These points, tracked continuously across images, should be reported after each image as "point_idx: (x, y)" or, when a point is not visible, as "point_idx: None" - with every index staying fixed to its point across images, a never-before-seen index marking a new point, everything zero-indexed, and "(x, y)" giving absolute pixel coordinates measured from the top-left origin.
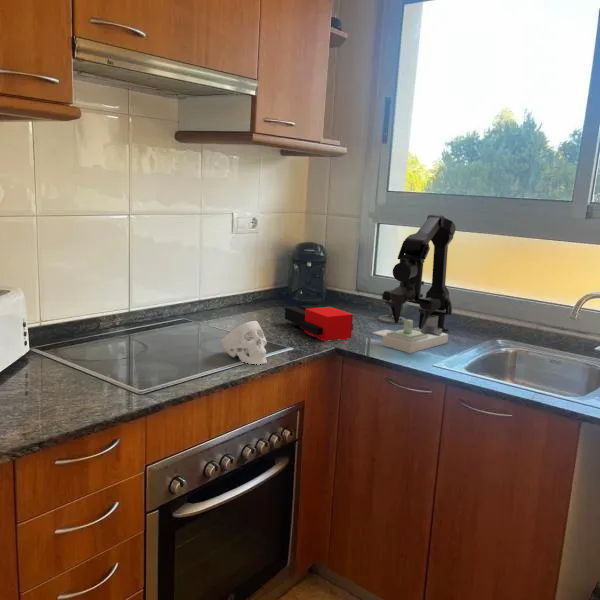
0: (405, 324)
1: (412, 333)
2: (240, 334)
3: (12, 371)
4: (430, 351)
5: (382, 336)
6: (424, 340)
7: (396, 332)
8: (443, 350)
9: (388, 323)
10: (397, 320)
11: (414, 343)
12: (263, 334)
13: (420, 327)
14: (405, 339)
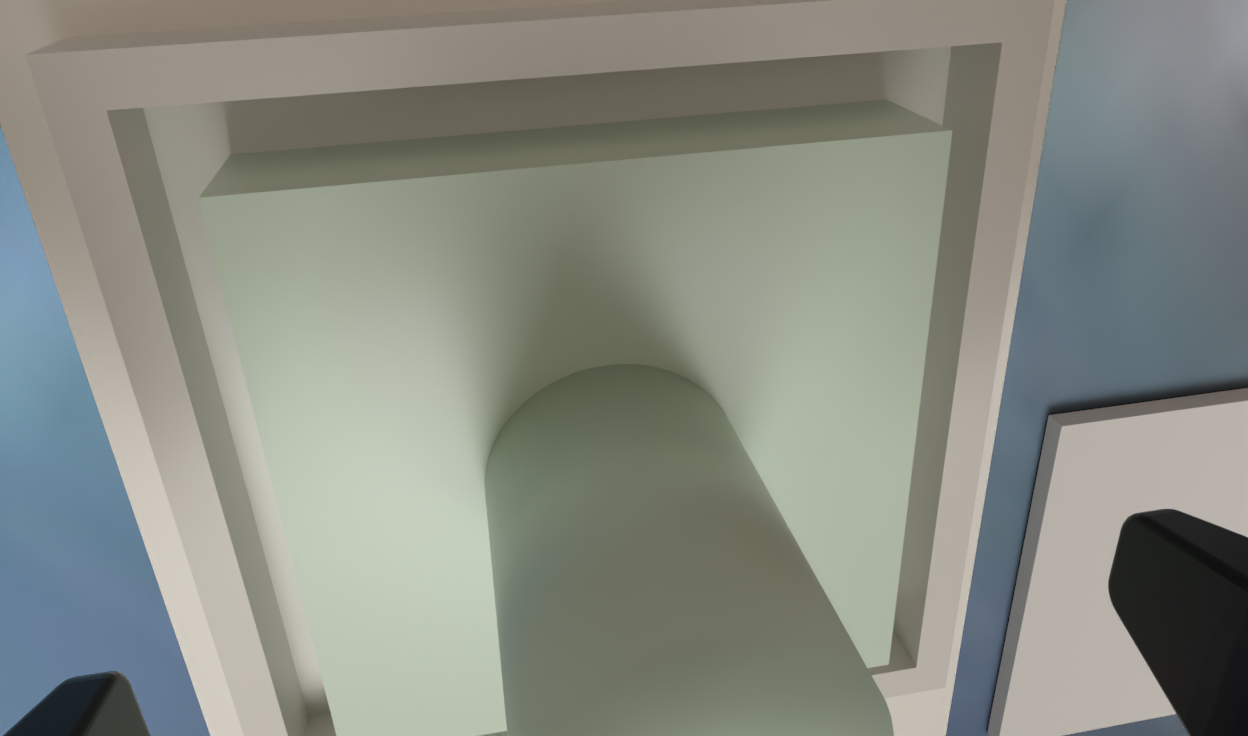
0: (688, 533)
1: (478, 537)
2: None
3: None
4: (28, 477)
5: (1225, 392)
6: (158, 579)
7: (816, 191)
8: (5, 723)
9: None
10: (1170, 618)
11: (15, 138)
12: None
13: (14, 733)
14: (284, 33)
